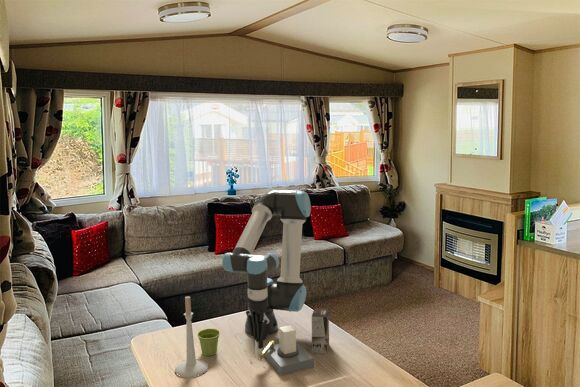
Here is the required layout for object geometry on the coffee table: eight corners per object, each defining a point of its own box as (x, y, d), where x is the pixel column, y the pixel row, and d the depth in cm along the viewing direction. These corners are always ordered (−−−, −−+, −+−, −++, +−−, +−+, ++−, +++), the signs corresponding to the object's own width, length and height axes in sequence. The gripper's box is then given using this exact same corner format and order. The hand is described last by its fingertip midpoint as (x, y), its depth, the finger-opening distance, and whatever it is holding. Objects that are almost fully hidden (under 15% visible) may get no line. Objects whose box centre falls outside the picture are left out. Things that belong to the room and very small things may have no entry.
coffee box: (327, 354, 201) (326, 317, 198) (311, 353, 202) (310, 316, 200) (329, 344, 210) (329, 308, 207) (314, 343, 211) (314, 307, 208)
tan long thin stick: (270, 342, 200) (270, 339, 200) (275, 343, 200) (275, 340, 200) (256, 360, 186) (256, 356, 186) (262, 360, 186) (261, 357, 185)
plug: (274, 358, 197) (273, 326, 195) (293, 353, 201) (292, 322, 199) (282, 367, 190) (281, 335, 188) (302, 363, 193) (301, 330, 191)
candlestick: (188, 358, 200) (184, 288, 195) (214, 364, 194) (211, 292, 190) (167, 373, 188) (163, 299, 184) (195, 380, 183) (191, 304, 178)
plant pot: (224, 349, 207) (223, 329, 206) (214, 359, 198) (213, 339, 197) (205, 346, 210) (204, 327, 209) (194, 356, 201) (192, 336, 200)
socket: (263, 356, 200) (263, 344, 200) (294, 348, 206) (294, 337, 205) (281, 376, 184) (280, 363, 183) (314, 368, 190) (313, 355, 189)
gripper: (239, 295, 188) (241, 352, 192) (260, 305, 179) (261, 364, 183) (255, 290, 193) (256, 346, 197) (276, 299, 184) (277, 357, 188)
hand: (259, 354), depth 190 cm, fingers closed
